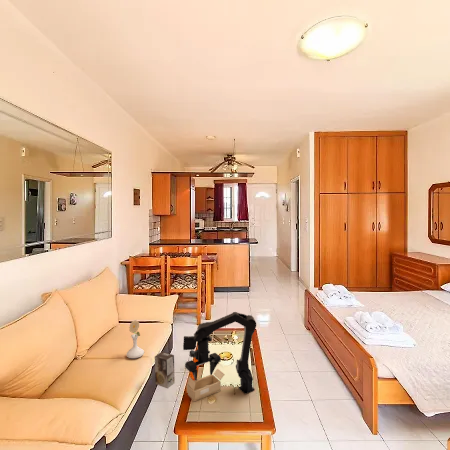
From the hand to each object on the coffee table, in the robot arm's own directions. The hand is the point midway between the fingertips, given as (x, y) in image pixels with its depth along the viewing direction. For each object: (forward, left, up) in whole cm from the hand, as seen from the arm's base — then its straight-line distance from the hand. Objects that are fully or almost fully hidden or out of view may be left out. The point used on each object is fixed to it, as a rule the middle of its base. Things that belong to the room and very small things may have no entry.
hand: (203, 377), depth 158 cm
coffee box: (+19, +14, -8) cm, 25 cm away
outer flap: (0, +7, -1) cm, 7 cm away
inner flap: (0, -10, -1) cm, 10 cm away
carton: (0, 0, -8) cm, 8 cm away
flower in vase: (+59, +18, -8) cm, 62 cm away
